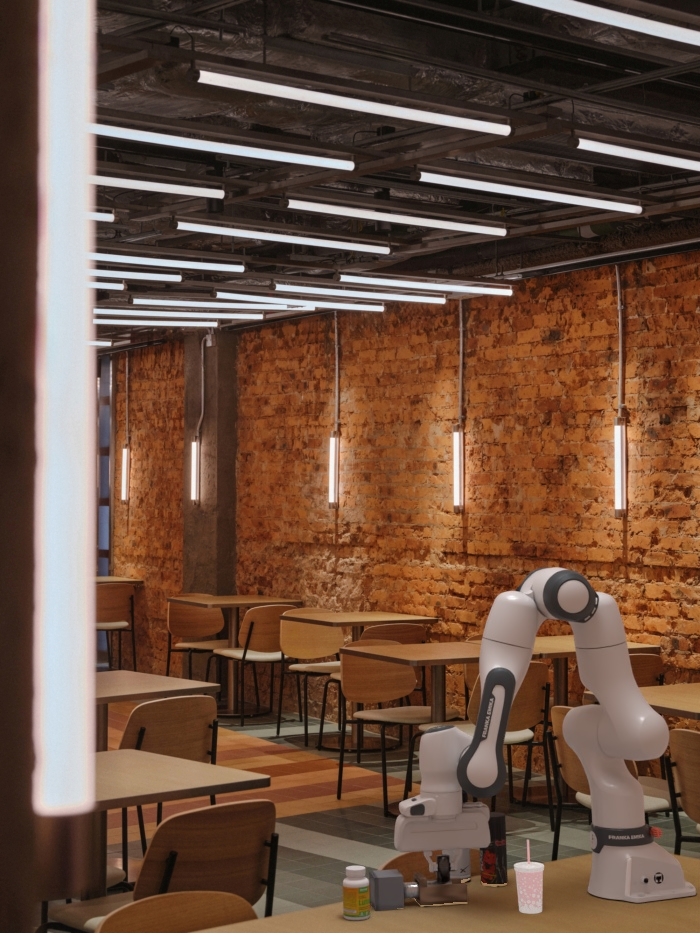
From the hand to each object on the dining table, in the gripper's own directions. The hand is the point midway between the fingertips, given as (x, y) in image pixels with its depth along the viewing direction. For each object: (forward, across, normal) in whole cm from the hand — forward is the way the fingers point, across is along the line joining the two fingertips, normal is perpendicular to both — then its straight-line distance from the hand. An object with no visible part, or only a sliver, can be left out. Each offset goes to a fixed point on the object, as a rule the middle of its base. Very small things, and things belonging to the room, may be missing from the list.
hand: (443, 871), depth 254 cm
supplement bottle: (+6, +20, +7) cm, 22 cm away
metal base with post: (+5, +5, 0) cm, 7 cm away
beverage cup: (+6, -15, +11) cm, 20 cm away
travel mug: (+6, -7, -17) cm, 20 cm away
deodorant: (+6, -14, -12) cm, 20 cm away
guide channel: (+6, +1, 0) cm, 6 cm away
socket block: (+6, +12, 0) cm, 14 cm away
